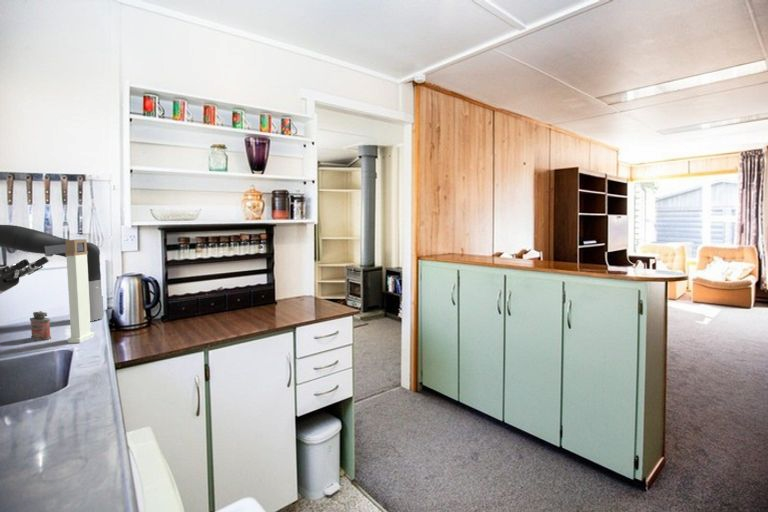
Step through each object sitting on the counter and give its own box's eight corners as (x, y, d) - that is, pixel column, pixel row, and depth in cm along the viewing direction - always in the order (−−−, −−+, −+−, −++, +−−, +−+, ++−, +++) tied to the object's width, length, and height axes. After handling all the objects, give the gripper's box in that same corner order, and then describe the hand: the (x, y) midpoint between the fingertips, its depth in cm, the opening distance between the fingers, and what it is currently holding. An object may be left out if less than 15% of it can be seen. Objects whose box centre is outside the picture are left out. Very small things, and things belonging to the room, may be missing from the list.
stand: (83, 336, 151) (78, 239, 148) (94, 336, 152) (89, 239, 148) (67, 342, 143) (61, 240, 140) (79, 342, 144) (74, 240, 140)
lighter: (28, 338, 147) (26, 311, 146) (38, 336, 150) (37, 309, 149) (43, 341, 145) (41, 313, 144) (53, 338, 148) (52, 311, 147)
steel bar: (52, 254, 145) (50, 245, 145) (83, 250, 146) (82, 242, 146) (46, 254, 142) (44, 246, 142) (78, 251, 143) (76, 242, 143)
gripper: (-28, 276, 136) (14, 252, 136) (8, 270, 151) (46, 249, 150) (-15, 295, 137) (27, 272, 137) (20, 287, 151) (58, 266, 151)
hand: (37, 260), depth 144 cm, fingers open, 8 cm apart
